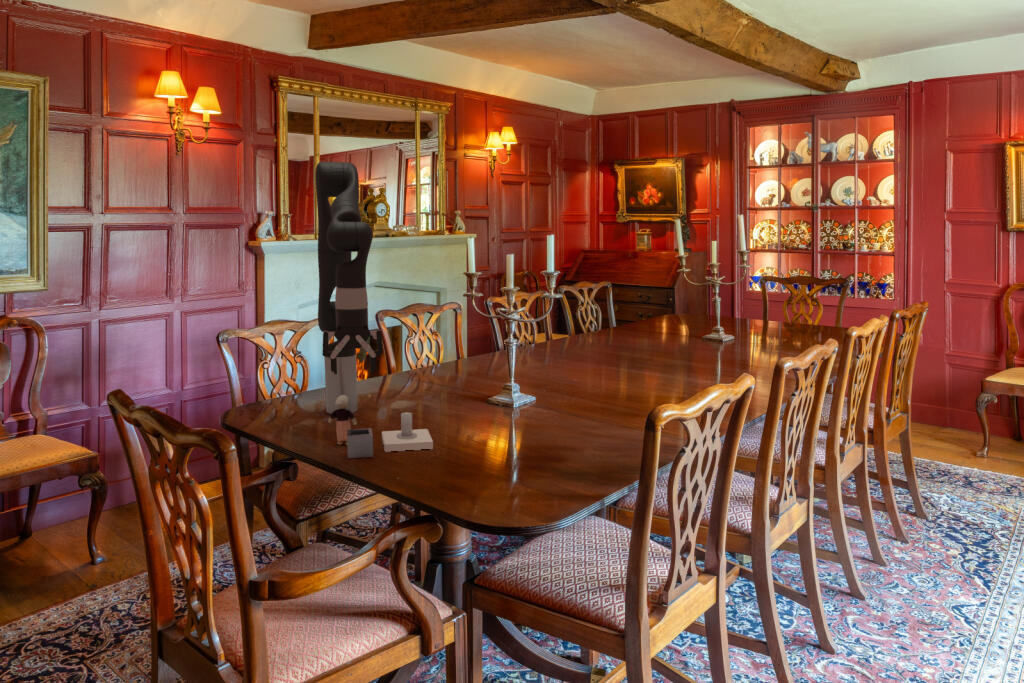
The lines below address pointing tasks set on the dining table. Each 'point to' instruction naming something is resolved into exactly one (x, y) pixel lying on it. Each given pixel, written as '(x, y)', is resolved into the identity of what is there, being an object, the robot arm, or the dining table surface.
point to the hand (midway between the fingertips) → (353, 373)
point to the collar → (360, 443)
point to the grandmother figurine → (342, 419)
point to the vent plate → (406, 437)
